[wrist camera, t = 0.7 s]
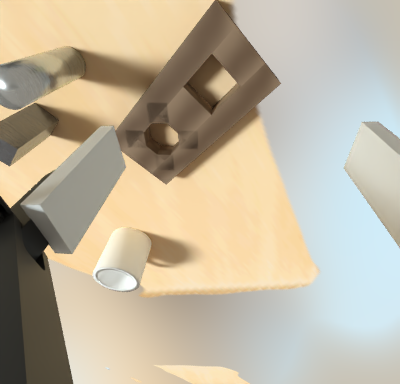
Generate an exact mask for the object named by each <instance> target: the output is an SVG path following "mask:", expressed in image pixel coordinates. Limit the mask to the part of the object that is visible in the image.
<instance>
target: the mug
mask: <svg viewBox="0 0 400 384" xmlns="http://www.w3.org/2000/svg"><path fill="white" fill-rule="evenodd" d="M151 245H152V243H151V240H150V238H149V237H148V236H147V235H146V234H145V233H144V232H142V231H140V230H138V229H134V228H129V227H123V228H118V229H116V230H114V232H113V233H112V235H111V237H110V239H109V241H108V243H107V245H106V247H105V249H104V251H103V253H102V255H101V257H100V259H99V261H98V263H97V265H96V267H95V269H94V271H93V277H94V279H95V281H97V282H98V283H99V284H100V285H102V286H104V287H106V288H108V289H111V290H115V291H121V292H129V291H133V290H136V289H137V288H138V287H139V285H140V281H141V278H142V275H143V272H144V268H145V265H146V262H147V259H148V255H149V252H150V249H151Z"/></svg>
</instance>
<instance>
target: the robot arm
mask: <svg viewBox="0 0 400 384" xmlns="http://www.w3.org/2000/svg"><path fill="white" fill-rule="evenodd" d="M125 168H126V165H125V162H124V159H123V156H122V152H121V149H120V146H119V142H118V139H117V136H116V132H115V129H114V126H100V127H99V128H98V129H97V130H96V131H95V132H94V133H93V134H92V135H91V136H90V137H89V138H88V139H87V140H86V141H85V142H84V143H83V144H82V145H81V146H80V147H79V148H77V149H76V150H75V151H74V152H73V153H72V154H71V155H70V156H69V157H68V158H67V159H66V160H65V161H64V162H63V163H62V164H61V165H60V166H59V167H58V168H57V169H56V170H54V171H52V172H51V173H49V174H47V175H45V176H44V177H43V178H42V179H41V180H40V181H39V182H38V183H37V184H36V185H35V186H34V187H32V188H31V190H29V191H28V192H27V193H26V194H25V195H24V196H23V197H22V198H21V199H20V200H19V201H18V202H17V203H16V204H14V205H13V206H12V207H11V208H9V206H8V205H7V204H6V203H5V201H4V200H3V199H2V197H1V196H0V384H73V380H72V375H71V370H70V365H69V360H68V355H67V351H66V346H65V341H64V336H63V331H62V327H61V321H60V317H59V312H58V307H57V302H56V297H55V292H54V288H53V282H52V278H51V273H50V268H49V263H48V258H47V256H46V254H45V253H44V250H45V248H46V247H47V246H48V244H49V245H50V247H51V248H52V249H53V251H54V252H55V253H64V254H72V253H73V252H74V250H75V249H76V247H77V245H78V244H79V242H80V241H81V239H82V237H83V236H84V234H85V232H86V231H87V229H88V228H89V226H90V224H91V223H92V221H93V220H94V218H95V216H96V215H97V213H98V211H99V210H100V208H101V207H102V205H103V203H104V202H105V200H106V199H107V197H108V195H109V194H110V192H111V190H112V189H113V187H114V186H115V184H116V182H117V181H118V179H119V178H120V176H121V174H122V173H123V171H124V169H125ZM344 169H345V171H346V172H347V173H348V175H349V176H350V178H351V179H352V181H353V182H354V183H355V185H356V186H357V188H358V189H359V191H360V192H361V193H362V195H363V196H364V198H365V199H366V200H367V202H368V203H369V205H370V206H371V208H372V209H373V210H374V212H375V213H376V215H377V216H378V218H379V219H380V221H381V222H382V223H383V225H384V226H385V228H386V229H387V230H388V232H389V233H390V235H391V236H392V238H393V239H394V240H395V242H396V243H397V245H398V246H399V248H400V139H399V138H398V137H397V136H396V135H394V134H393V133H392V132H391V131H389V130H388V129H387V128H385V127H384V126H383V125H382V124H380V123H379V122H362V123H361V126H360V128H359V131H358V133H357V136H356V138H355V141H354V143H353V146H352V148H351V151H350V153H349V156H348V158H347V161H346V163H345V166H344Z"/></svg>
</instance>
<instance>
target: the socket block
mask: <svg viewBox="0 0 400 384" xmlns="http://www.w3.org/2000/svg"><path fill="white" fill-rule="evenodd" d="M211 54H213V55H214V56H215V58H216V59H217V60H218V61H219V62H220V63H221V64H222V66H223V67H224V68H225V69H226V70H227V71H228V73H229V74H230V75H231V76H232V77H233V78H234V79H235V81H236V82H237V84H236V85H235V86H234V87H233V88H232V89H231V90H230V91H229V92H228V93H227V94H226V95H225V96H224V97H223V98H222V99H221V100H220V101H219V102H218V103H217V104H216V105H215V106H214V107H213V108H212V107H211V106H210V105H209V104H208V103H207V102H206V101H205V100H204V99H203V98H202V97H201V96H200V95H199V94H198V92H197V91H196V90H195V89H194V88H193V87H192V86H191V85H190V84H189V83H188V81H189V79H190V78H191V77H192V76H193V75H194V74H195V73H196V71H197V70H198V69H199V68H200V67H201V66H202V64H203V63H204V62H205V61H206V60H207V59H208V57H209V56H210V55H211ZM280 84H281V83H280V82H279V80H278V79H277V77H276V76H275V75H274V73H273V72H272V71H271V70H270V68H269V67H268V66H267V64H266V63H265V62H264V60H263V59H262V58H261V57H260V55H259V54H258V53H257V51H256V50H255V49H254V48H253V46H252V45H251V44H250V42H249V41H248V40H247V39H246V37H245V36H244V35H243V33H242V32H241V31H240V30H239V28H238V27H237V26H236V24H235V23H234V22H233V21H232V19H231V18H230V17H229V15H228V14H227V13H226V11H225V10H224V9H223V8H222V6H221V5H220V4H219V2H218V1H217V0H215V1H214V2H213V4H212V5H211V6H210V8H209V9H208V10H207V12H206V13H205V14H204V15H203V17H202V18H201V19H200V21H199V22H198V23H197V25H196V26H195V27H194V29H193V30H192V31H191V32H190V34H189V35H188V36H187V38H186V39H185V40H184V42H183V43H182V44H181V46H180V47H179V48H178V50H177V51H176V52H175V53H174V55H173V56H172V57H171V59H170V60H169V61H168V63H167V64H166V65H165V67H164V68H163V69H162V71H161V72H160V73H159V74H158V76H157V77H156V78H155V80H154V81H153V82H152V84H151V85H150V86H149V88H148V89H147V90H146V92H145V93H144V94H143V95H142V97H141V98H140V99H139V101H138V102H137V103H136V105H135V106H134V107H133V109H132V110H131V111H130V113H129V114H128V115H127V116H126V118H125V119H124V120H123V122H122V123H121V124H120V126H119V127H118V128H117V130H116V131H115V132H116V136H117V139H118V142H119V146H120V149H121V151H122V152H123V153H125V154H126V155H127V156H129V157H130V158H131V159H133V160H134V161H135V162H137V163H138V164H139V165H141V166H142V167H143V168H145V169H146V170H147V171H149V172H150V173H151V174H153V175H154V176H155V177H157V178H158V179H159V180H161V181H162V182H163V183H165V184H167V183H169V182H170V181H171V180H172V179H173V178H174V177H175V176H176V175H178V174H179V173H180V172H181V171H182V170H183V169H184V168H186V167H187V166H188V165H189V164H190V163H191V162H192V161H194V160H195V159H196V158H197V157H198V156H199V155H200V154H201V153H203V152H204V151H205V150H206V149H207V148H208V147H209V146H211V145H212V144H213V143H214V142H215V141H216V140H217V139H219V138H220V137H221V136H222V135H223V134H224V133H225V132H227V131H228V130H229V129H230V128H231V127H232V126H233V125H234V124H236V123H237V122H238V121H239V120H240V119H241V118H242V117H244V116H245V115H246V114H247V113H248V112H249V111H250V110H252V109H253V108H254V107H255V106H256V105H257V104H258V103H260V102H261V101H262V100H263V99H264V98H265V97H266V96H267V95H269V94H270V93H271V92H272V91H273V90H274V89H275V88H277V87H278V86H279V85H280ZM152 123H167V124H168V125H169V126H170V127H171V128H173V129H174V130H175V131H176V132H177V133H178V138H179V142H177V143H176V144H175V145H174V146H161V145H159V144H158V143H157V142H156V141H154V140H153V139H152V138H151V136H150V130H149V126H150V125H151V124H152Z"/></svg>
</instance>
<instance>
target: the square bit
mask: <svg viewBox="0 0 400 384" xmlns="http://www.w3.org/2000/svg"><path fill="white" fill-rule="evenodd" d="M58 121H59V120H58V119H57V118H55V117H54V116H53V115H51V114H50V113H48V112H47V111H46V110H44V109H43V108H41V107H40V106H39V105H37V104H36V103H34V104H32V105H30V106H28V107H26V108H24V109H23V110H21V111H19V112H17V113H15V114H13V115H11V116H9V117H8V118H6V119H4V120H2V121H0V161H1V162H3V163H5V164H6V165H8V166H11V165H12V164H14V163H15V162H16V161H17V160H19V159H20V158H21V157H23V156H24V155H25V154H27V153H28V152H29V151H31V150H32V149H33V148H35V147H36V146H37V145H38V144H40V143H41V142H42V141H44V140H45V139H46V138H48V137H49V136H50V135H51V133H52V132H53V130H54V128H55V126H56V124H57V123H58Z"/></svg>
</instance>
